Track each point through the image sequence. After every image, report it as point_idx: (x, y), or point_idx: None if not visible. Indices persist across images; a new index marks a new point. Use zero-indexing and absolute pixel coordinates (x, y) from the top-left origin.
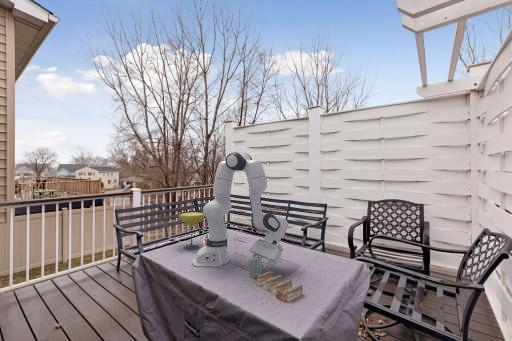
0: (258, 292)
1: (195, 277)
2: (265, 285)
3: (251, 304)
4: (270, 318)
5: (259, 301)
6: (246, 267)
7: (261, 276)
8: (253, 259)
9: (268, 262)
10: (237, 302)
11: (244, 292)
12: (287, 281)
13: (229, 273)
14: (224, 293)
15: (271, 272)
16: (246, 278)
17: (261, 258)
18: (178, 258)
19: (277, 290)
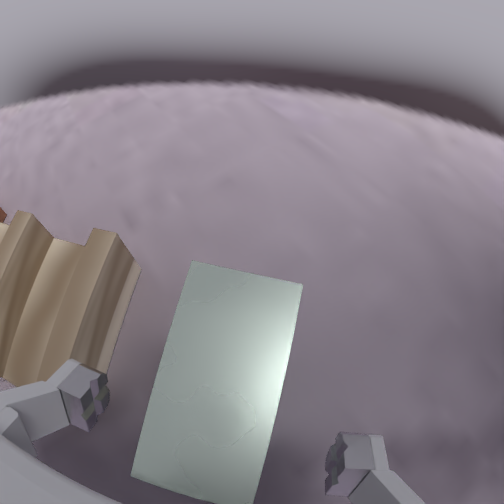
0: (94, 196)
1: (486, 151)
2: (60, 249)
3: (95, 114)
4: (22, 112)
5: (68, 144)
6: (428, 478)
7: (82, 255)
8: (231, 303)
9: (15, 410)
10: (156, 92)
11: (169, 152)
12: None
13: (446, 290)
14: (258, 101)
15: None
16: None
17: (135, 460)
18: None
19: None
